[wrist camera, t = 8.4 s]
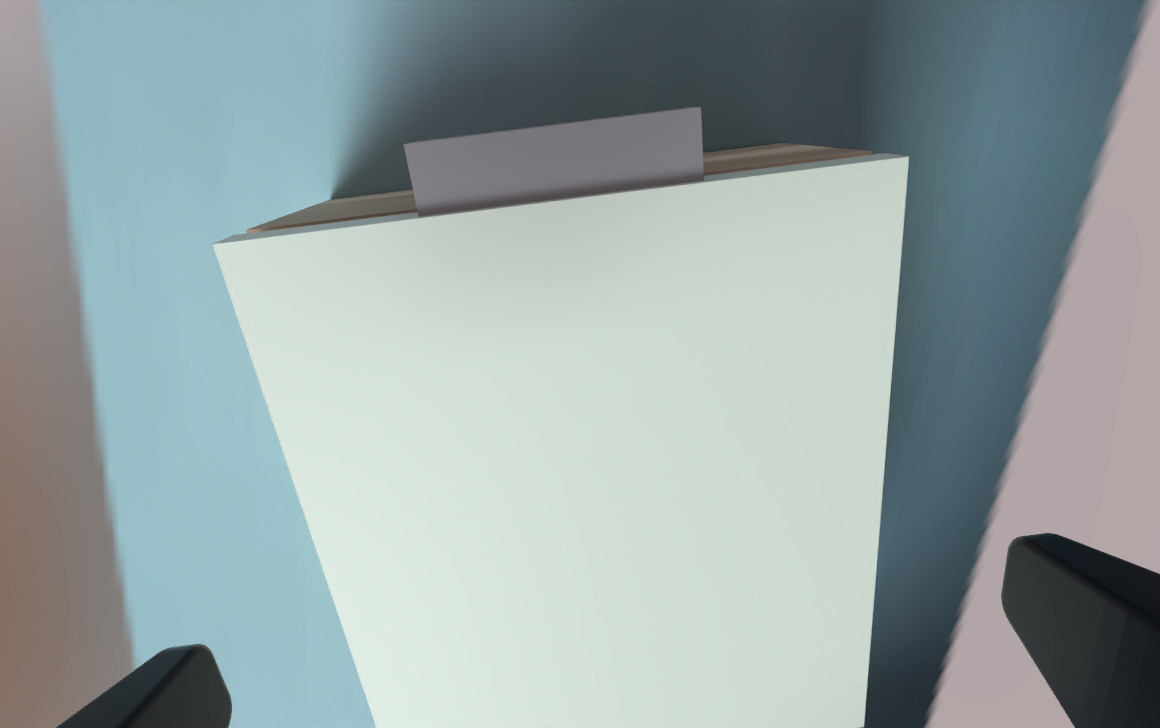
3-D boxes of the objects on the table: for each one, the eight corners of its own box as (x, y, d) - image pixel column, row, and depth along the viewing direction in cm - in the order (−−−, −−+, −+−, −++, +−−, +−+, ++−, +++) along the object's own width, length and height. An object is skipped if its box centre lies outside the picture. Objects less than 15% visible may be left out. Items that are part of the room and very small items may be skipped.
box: (783, 573, 22) (848, 696, 17) (434, 618, 22) (404, 754, 17) (782, 142, 17) (872, 150, 12) (329, 200, 17) (245, 230, 12)
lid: (848, 725, 18) (865, 760, 17) (411, 783, 17) (404, 821, 17) (890, 81, 11) (921, 80, 10) (210, 167, 11) (181, 173, 10)
